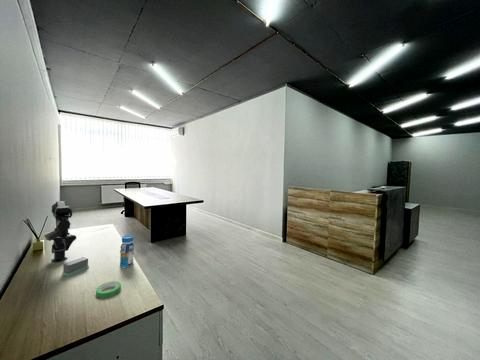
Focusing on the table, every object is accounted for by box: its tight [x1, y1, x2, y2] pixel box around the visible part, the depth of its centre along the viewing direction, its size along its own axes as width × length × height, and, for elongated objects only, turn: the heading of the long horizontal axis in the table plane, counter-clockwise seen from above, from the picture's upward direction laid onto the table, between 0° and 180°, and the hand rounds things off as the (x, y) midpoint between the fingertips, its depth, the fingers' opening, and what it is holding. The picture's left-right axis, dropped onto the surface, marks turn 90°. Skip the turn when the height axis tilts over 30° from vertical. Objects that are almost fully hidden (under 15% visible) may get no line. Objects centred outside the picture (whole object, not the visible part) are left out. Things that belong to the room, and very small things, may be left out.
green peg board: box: [61, 264, 90, 277], centre depth 124 cm, size 5×12×4 cm, turn 160°
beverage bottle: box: [119, 235, 135, 269], centre depth 135 cm, size 8×8×20 cm
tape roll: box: [95, 280, 122, 299], centre depth 105 cm, size 11×11×3 cm
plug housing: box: [62, 256, 89, 274], centre depth 124 cm, size 5×11×5 cm, turn 160°
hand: (62, 249), depth 127 cm, fingers open, 9 cm apart
